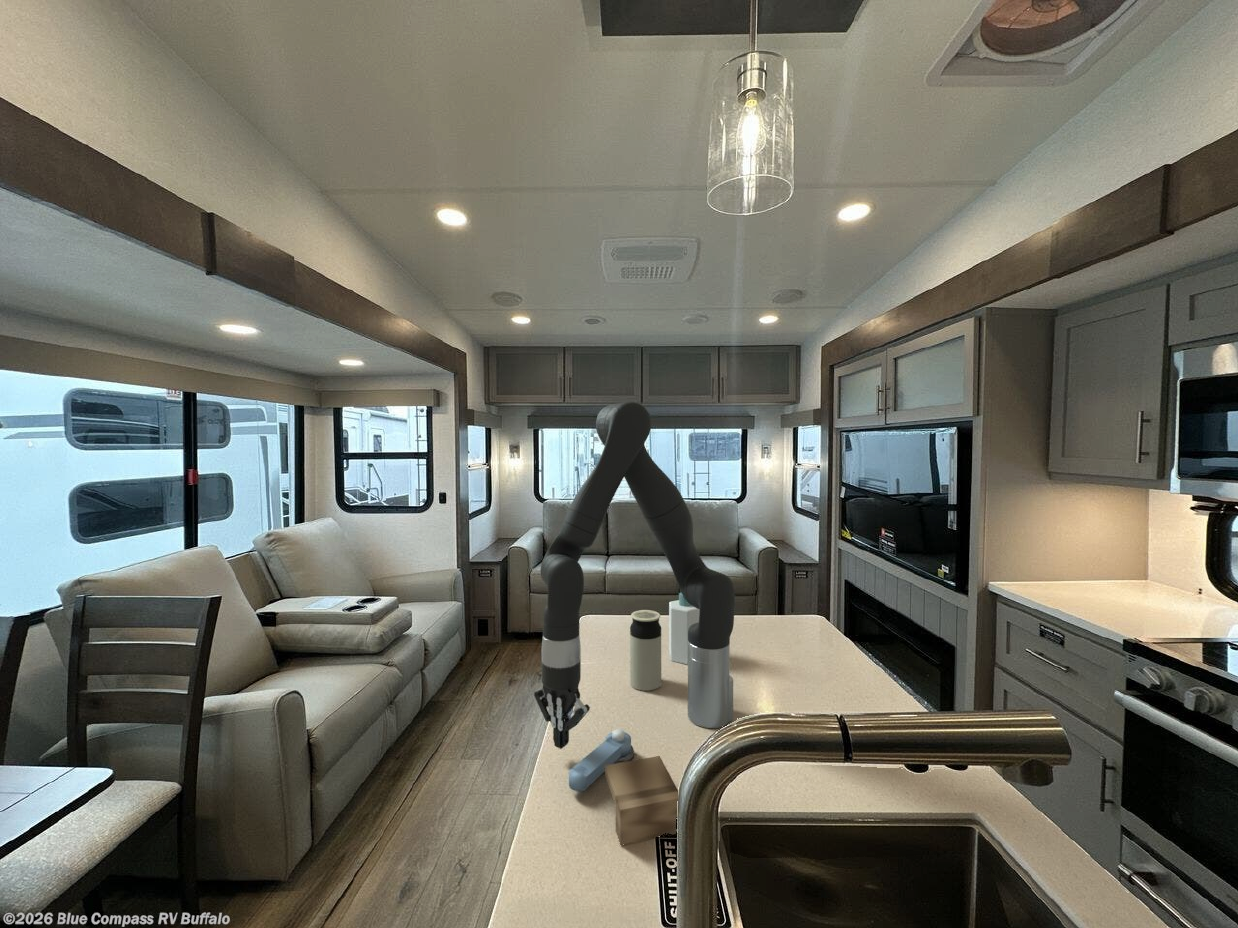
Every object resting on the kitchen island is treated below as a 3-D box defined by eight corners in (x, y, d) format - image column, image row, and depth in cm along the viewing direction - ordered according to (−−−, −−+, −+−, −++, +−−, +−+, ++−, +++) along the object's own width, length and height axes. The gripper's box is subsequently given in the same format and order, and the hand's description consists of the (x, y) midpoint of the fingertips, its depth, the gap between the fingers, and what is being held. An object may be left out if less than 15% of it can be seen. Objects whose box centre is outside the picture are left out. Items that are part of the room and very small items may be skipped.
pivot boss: (628, 744, 97) (628, 738, 97) (637, 763, 91) (637, 757, 91) (600, 749, 95) (600, 743, 95) (607, 768, 89) (607, 762, 89)
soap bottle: (704, 665, 132) (704, 586, 131) (671, 664, 132) (671, 586, 132) (698, 649, 142) (699, 577, 142) (668, 649, 143) (668, 576, 142)
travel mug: (659, 693, 117) (659, 621, 116) (627, 690, 119) (627, 619, 118) (662, 677, 125) (662, 610, 124) (633, 675, 126) (633, 608, 126)
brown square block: (659, 786, 85) (659, 755, 84) (681, 832, 74) (681, 797, 74) (605, 796, 82) (604, 765, 82) (620, 845, 72) (620, 809, 72)
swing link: (615, 737, 97) (615, 722, 96) (636, 746, 94) (636, 730, 94) (561, 783, 83) (561, 765, 83) (583, 795, 80) (583, 777, 80)
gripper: (600, 659, 91) (599, 748, 91) (549, 643, 98) (549, 725, 99) (574, 674, 85) (574, 769, 85) (522, 655, 92) (522, 742, 93)
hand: (560, 745), depth 92 cm, fingers closed
